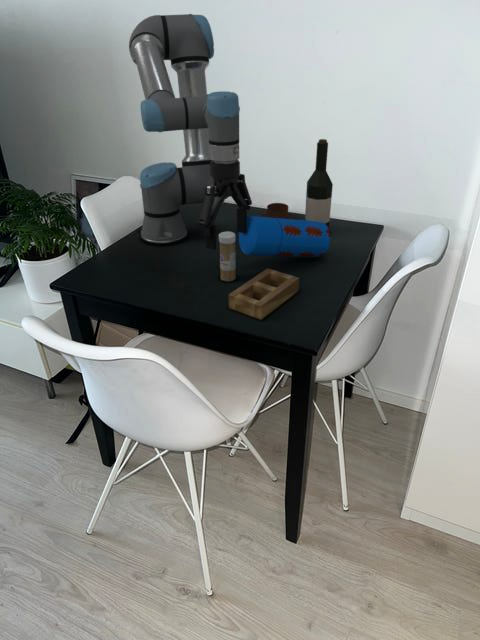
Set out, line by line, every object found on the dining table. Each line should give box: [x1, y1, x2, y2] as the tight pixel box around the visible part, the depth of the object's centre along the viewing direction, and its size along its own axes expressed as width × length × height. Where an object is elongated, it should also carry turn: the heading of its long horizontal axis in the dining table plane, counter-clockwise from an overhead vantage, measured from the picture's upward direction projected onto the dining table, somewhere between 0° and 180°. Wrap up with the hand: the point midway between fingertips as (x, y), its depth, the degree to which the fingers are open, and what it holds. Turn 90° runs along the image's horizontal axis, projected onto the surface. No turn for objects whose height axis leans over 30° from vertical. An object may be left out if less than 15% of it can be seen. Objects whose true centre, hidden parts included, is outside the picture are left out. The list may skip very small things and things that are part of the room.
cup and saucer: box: [260, 202, 296, 220], centre depth 177 cm, size 12×12×6 cm
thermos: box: [238, 215, 331, 258], centre depth 147 cm, size 11×11×25 cm
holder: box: [228, 268, 300, 321], centre depth 133 cm, size 10×18×4 cm, turn 144°
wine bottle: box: [304, 138, 334, 230], centre depth 164 cm, size 8×8×30 cm
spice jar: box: [218, 231, 237, 283], centre depth 140 cm, size 5×5×13 cm
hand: (227, 240), depth 137 cm, fingers open, 13 cm apart
